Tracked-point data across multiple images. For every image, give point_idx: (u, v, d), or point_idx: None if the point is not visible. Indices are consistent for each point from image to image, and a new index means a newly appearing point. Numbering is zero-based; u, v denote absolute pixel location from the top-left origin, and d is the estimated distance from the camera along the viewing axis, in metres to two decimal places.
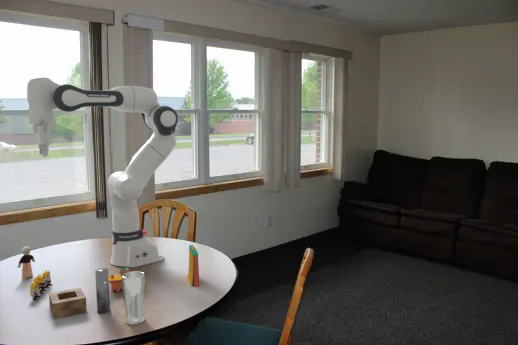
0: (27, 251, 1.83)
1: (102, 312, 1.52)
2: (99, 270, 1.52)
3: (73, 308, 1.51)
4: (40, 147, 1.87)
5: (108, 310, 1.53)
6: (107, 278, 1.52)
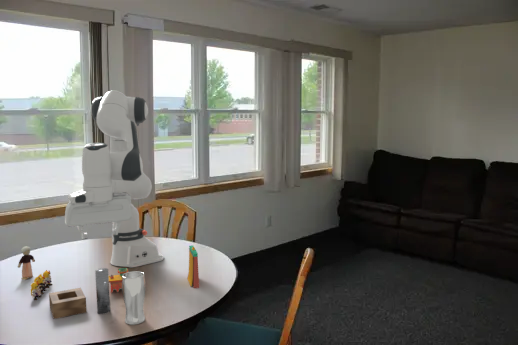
0: (27, 251, 1.83)
1: (102, 312, 1.52)
2: (99, 270, 1.52)
3: (73, 308, 1.51)
4: None
5: (108, 310, 1.53)
6: (107, 278, 1.52)
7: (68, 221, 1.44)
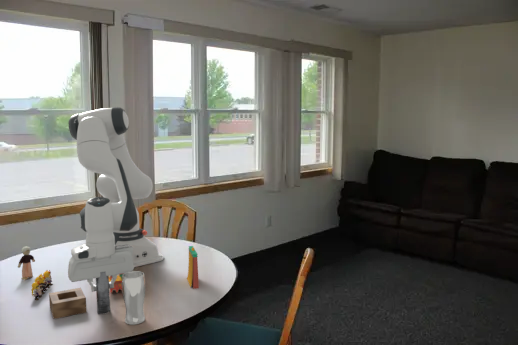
0: (27, 251, 1.83)
1: (102, 312, 1.52)
2: None
3: (73, 308, 1.51)
4: None
5: (108, 310, 1.53)
6: (107, 278, 1.52)
7: (71, 276, 1.46)
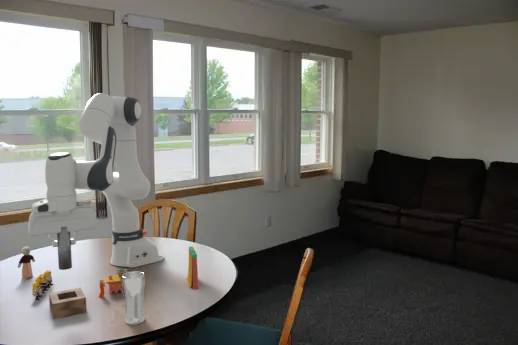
0: (27, 251, 1.83)
1: (63, 268, 1.51)
2: None
3: (73, 308, 1.51)
4: (52, 238, 1.50)
5: (70, 266, 1.52)
6: (68, 234, 1.51)
7: (31, 230, 1.45)
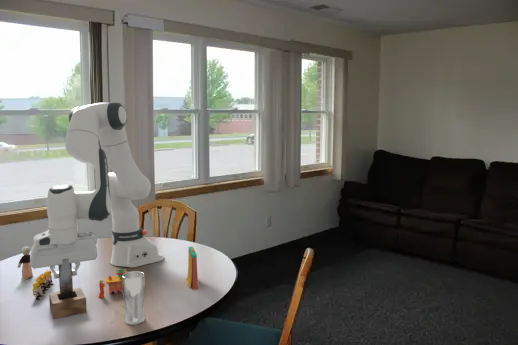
0: (27, 251, 1.83)
1: None
2: None
3: (73, 308, 1.51)
4: (54, 270, 1.51)
5: (71, 297, 1.54)
6: (70, 266, 1.53)
7: (32, 263, 1.46)
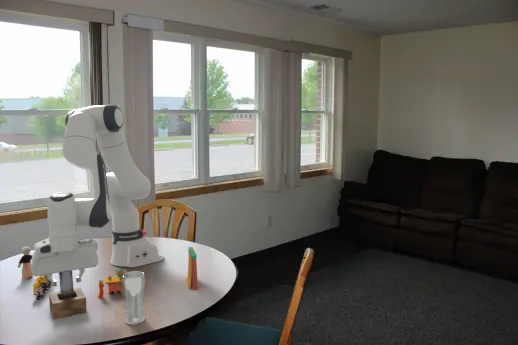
0: (27, 251, 1.83)
1: None
2: None
3: (73, 308, 1.51)
4: (51, 278, 1.51)
5: None
6: (71, 277, 1.53)
7: (33, 271, 1.47)
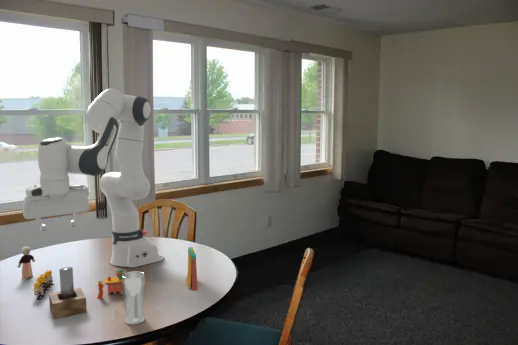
0: (27, 251, 1.83)
1: None
2: (64, 269, 1.53)
3: (73, 308, 1.51)
4: (40, 222, 1.53)
5: None
6: (71, 277, 1.53)
7: (25, 214, 1.49)
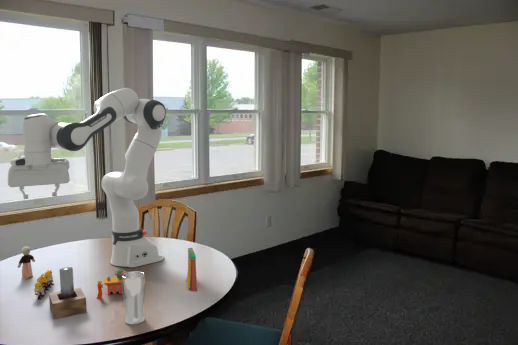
0: (27, 251, 1.83)
1: None
2: (64, 269, 1.53)
3: (73, 308, 1.51)
4: (23, 191, 1.67)
5: None
6: (71, 277, 1.53)
7: (9, 182, 1.63)
